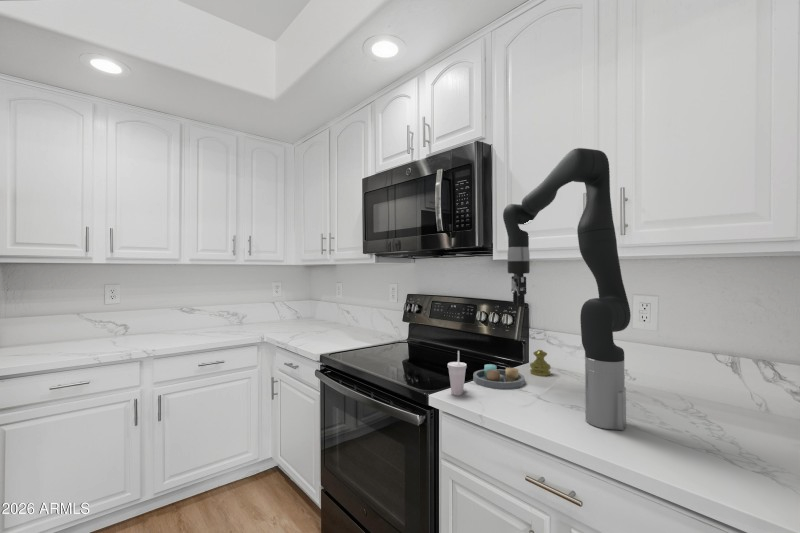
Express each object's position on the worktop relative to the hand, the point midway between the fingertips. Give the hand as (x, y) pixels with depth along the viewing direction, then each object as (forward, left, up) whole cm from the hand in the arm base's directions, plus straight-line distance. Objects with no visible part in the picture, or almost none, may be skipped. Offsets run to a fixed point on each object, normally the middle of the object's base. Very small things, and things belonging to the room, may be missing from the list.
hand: (518, 305), depth 134 cm
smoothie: (+13, +22, -28) cm, 38 cm away
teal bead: (+10, +2, -27) cm, 29 cm away
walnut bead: (+6, +9, -27) cm, 29 cm away
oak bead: (+2, +2, -27) cm, 27 cm away
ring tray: (+6, +4, -28) cm, 29 cm away
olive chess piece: (-3, -15, -28) cm, 32 cm away
